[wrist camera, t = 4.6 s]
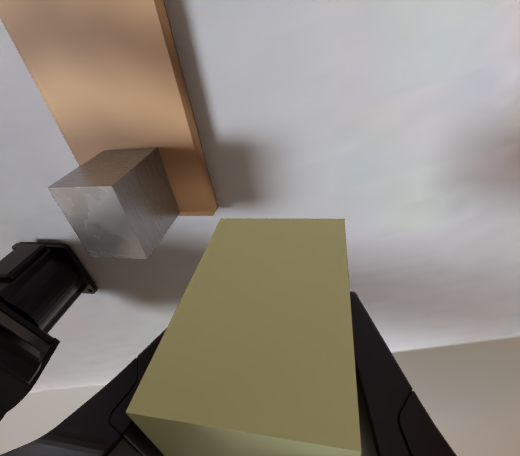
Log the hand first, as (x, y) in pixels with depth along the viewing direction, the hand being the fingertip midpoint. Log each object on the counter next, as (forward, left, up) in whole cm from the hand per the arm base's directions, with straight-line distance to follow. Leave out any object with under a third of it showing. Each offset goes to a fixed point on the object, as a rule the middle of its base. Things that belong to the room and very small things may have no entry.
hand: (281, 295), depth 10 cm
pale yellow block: (0, 0, -1) cm, 1 cm away
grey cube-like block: (-1, +11, -10) cm, 15 cm away
